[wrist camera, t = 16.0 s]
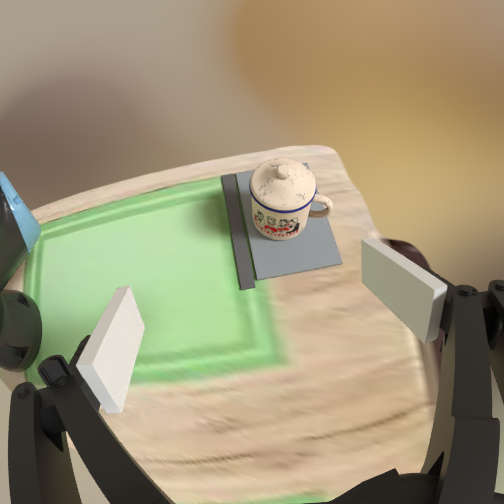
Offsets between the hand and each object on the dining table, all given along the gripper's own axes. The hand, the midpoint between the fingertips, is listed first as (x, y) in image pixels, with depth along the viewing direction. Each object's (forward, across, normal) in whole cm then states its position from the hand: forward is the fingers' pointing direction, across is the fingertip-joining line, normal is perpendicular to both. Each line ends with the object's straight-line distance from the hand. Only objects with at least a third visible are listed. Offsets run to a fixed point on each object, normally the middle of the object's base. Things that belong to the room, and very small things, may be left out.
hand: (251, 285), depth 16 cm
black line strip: (+31, +1, -5) cm, 32 cm away
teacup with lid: (+30, +9, -5) cm, 32 cm away
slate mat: (+31, +9, -5) cm, 33 cm away
